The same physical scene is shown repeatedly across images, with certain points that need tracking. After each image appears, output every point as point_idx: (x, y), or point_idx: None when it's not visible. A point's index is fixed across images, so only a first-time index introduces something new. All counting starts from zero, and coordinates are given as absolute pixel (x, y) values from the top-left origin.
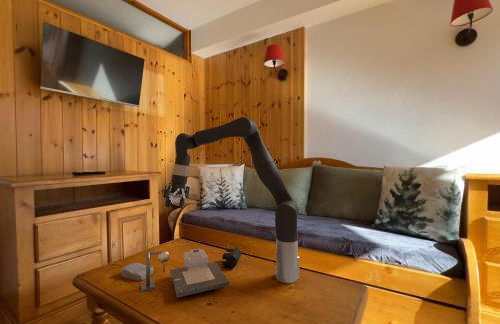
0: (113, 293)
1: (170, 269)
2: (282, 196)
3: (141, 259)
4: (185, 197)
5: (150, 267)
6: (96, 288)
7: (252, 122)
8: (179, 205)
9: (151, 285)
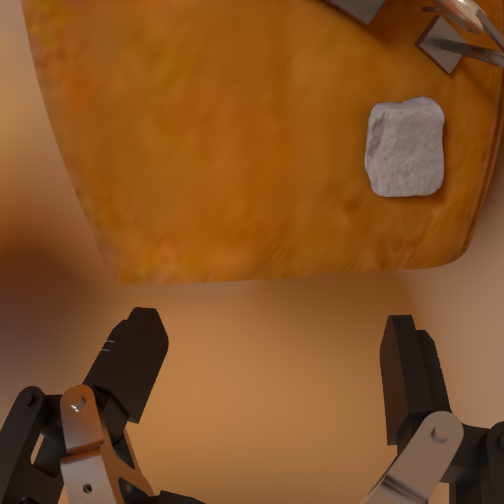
0: (493, 113)
1: (367, 24)
2: None
3: (317, 234)
4: (62, 409)
5: (381, 124)
6: (489, 174)
7: None
8: (165, 345)
9: (442, 31)
